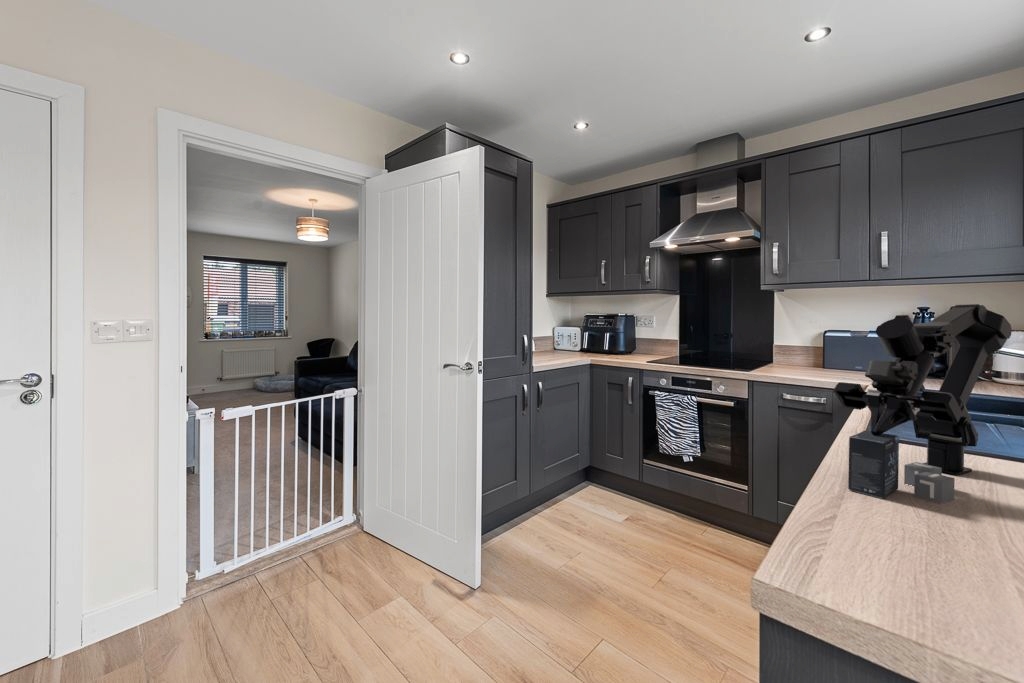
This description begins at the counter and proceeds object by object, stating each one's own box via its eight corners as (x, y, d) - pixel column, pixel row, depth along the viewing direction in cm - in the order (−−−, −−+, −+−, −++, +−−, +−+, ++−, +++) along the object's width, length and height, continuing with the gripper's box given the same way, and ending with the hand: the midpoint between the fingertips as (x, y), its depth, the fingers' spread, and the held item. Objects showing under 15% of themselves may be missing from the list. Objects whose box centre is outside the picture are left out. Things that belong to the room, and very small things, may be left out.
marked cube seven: (926, 492, 83) (926, 470, 83) (954, 500, 79) (954, 477, 79) (913, 496, 81) (913, 473, 81) (941, 503, 78) (941, 480, 78)
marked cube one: (915, 481, 89) (916, 461, 88) (941, 488, 85) (941, 466, 85) (903, 484, 87) (903, 463, 87) (929, 491, 83) (929, 469, 83)
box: (884, 499, 80) (884, 442, 79) (847, 490, 84) (847, 436, 84) (899, 489, 84) (899, 434, 84) (863, 480, 89) (863, 429, 88)
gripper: (839, 344, 94) (805, 399, 90) (955, 347, 77) (920, 415, 73) (860, 379, 97) (828, 433, 93) (975, 389, 80) (943, 456, 76)
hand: (874, 434), depth 84 cm, fingers closed, pressing on box
